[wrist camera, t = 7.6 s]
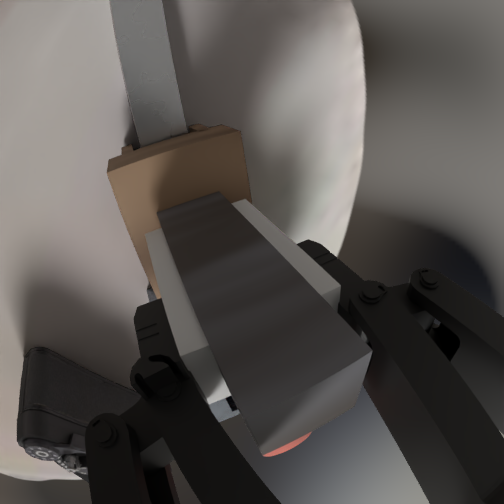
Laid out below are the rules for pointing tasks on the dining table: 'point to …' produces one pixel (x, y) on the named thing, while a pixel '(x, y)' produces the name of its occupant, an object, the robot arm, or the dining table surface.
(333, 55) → the dining table surface
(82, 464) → the camera
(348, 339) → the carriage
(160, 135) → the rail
